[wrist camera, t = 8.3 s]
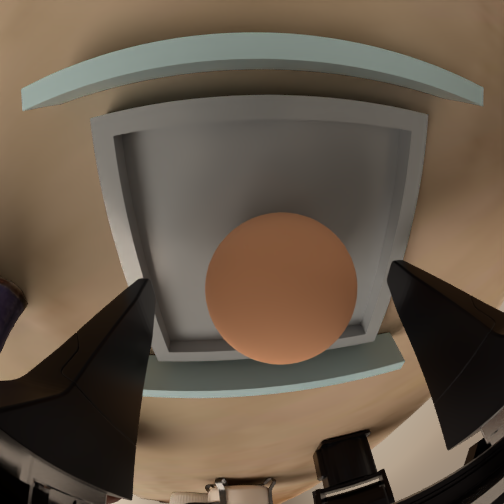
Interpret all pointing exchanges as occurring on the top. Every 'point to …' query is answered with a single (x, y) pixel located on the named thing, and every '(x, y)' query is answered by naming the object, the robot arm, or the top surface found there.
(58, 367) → the robot arm
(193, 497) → the ramekin
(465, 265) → the top surface
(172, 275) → the dish
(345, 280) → the ball
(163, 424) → the top surface
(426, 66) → the acrylic walls
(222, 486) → the coffee press
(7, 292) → the flask
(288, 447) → the top surface
